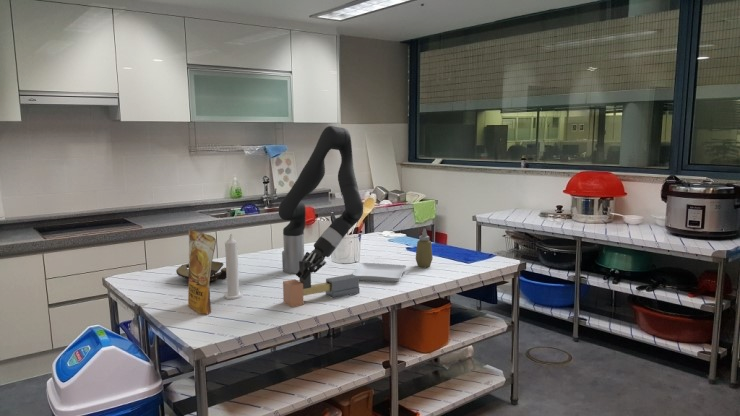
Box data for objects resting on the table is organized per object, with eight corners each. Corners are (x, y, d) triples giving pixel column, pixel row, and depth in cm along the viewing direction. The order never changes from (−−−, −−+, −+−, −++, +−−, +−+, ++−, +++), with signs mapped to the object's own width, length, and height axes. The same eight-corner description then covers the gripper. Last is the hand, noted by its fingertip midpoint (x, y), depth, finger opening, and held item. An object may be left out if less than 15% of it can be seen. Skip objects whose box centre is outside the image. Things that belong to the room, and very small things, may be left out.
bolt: (336, 287, 209) (336, 255, 207) (340, 289, 207) (340, 257, 205) (289, 295, 199) (288, 262, 197) (292, 298, 196) (292, 264, 194)
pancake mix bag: (200, 299, 202) (196, 228, 198) (221, 313, 188) (217, 235, 184) (183, 303, 198) (178, 230, 194) (202, 317, 184) (198, 238, 179)
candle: (233, 300, 202) (230, 236, 198) (220, 297, 205) (217, 234, 202) (246, 295, 208) (244, 233, 204) (233, 292, 211) (231, 231, 207)
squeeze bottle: (413, 267, 248) (413, 229, 246) (418, 263, 256) (418, 226, 253) (429, 269, 245) (430, 230, 243) (434, 264, 253) (435, 227, 250)
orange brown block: (295, 299, 202) (295, 279, 201) (303, 304, 197) (303, 283, 195) (283, 301, 200) (282, 281, 199) (291, 307, 194) (290, 286, 193)
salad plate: (400, 285, 222) (400, 277, 221) (350, 282, 226) (350, 274, 225) (406, 271, 242) (406, 264, 242) (361, 269, 246) (361, 262, 246)
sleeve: (351, 289, 215) (351, 273, 214) (359, 293, 210) (359, 277, 209) (325, 294, 209) (325, 278, 208) (332, 298, 204) (332, 282, 203)
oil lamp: (218, 269, 247) (218, 253, 246) (244, 284, 223) (244, 266, 222) (169, 277, 234) (168, 260, 233) (191, 294, 210) (190, 275, 209)
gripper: (313, 232, 207) (285, 267, 202) (330, 239, 195) (301, 276, 191) (326, 244, 211) (298, 279, 206) (343, 251, 199) (314, 288, 194)
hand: (300, 277), depth 198 cm, fingers closed on bolt, 3 cm apart
